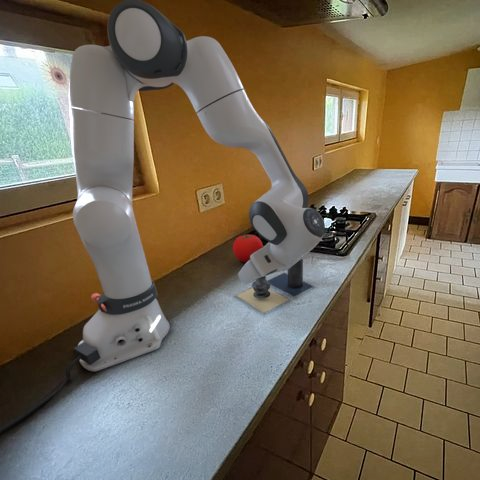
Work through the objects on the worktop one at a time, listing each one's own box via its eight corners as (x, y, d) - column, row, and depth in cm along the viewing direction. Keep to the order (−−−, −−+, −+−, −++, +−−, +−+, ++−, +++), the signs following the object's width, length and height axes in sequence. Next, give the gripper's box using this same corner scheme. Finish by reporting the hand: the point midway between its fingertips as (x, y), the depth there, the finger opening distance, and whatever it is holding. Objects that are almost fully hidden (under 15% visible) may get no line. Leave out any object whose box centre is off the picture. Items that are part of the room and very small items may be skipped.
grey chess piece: (269, 299, 91) (266, 264, 86) (250, 298, 92) (247, 263, 87) (272, 290, 96) (271, 255, 91) (255, 288, 97) (252, 254, 92)
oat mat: (264, 314, 87) (264, 312, 87) (236, 296, 97) (235, 295, 96) (288, 300, 93) (288, 299, 93) (259, 285, 103) (259, 284, 102)
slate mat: (294, 297, 95) (294, 296, 94) (265, 282, 104) (265, 281, 104) (313, 287, 100) (313, 286, 100) (284, 274, 109) (284, 272, 109)
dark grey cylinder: (295, 290, 98) (295, 262, 93) (284, 284, 101) (284, 257, 97) (305, 284, 101) (306, 257, 96) (295, 279, 104) (295, 253, 99)
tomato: (254, 252, 128) (253, 228, 123) (269, 261, 119) (267, 236, 115) (229, 259, 123) (226, 234, 118) (242, 269, 114) (239, 243, 109)
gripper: (300, 233, 88) (277, 255, 98) (246, 255, 75) (227, 278, 86) (312, 251, 87) (287, 271, 98) (260, 277, 74) (238, 297, 85)
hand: (259, 275), depth 92 cm, fingers closed on grey chess piece, 3 cm apart
